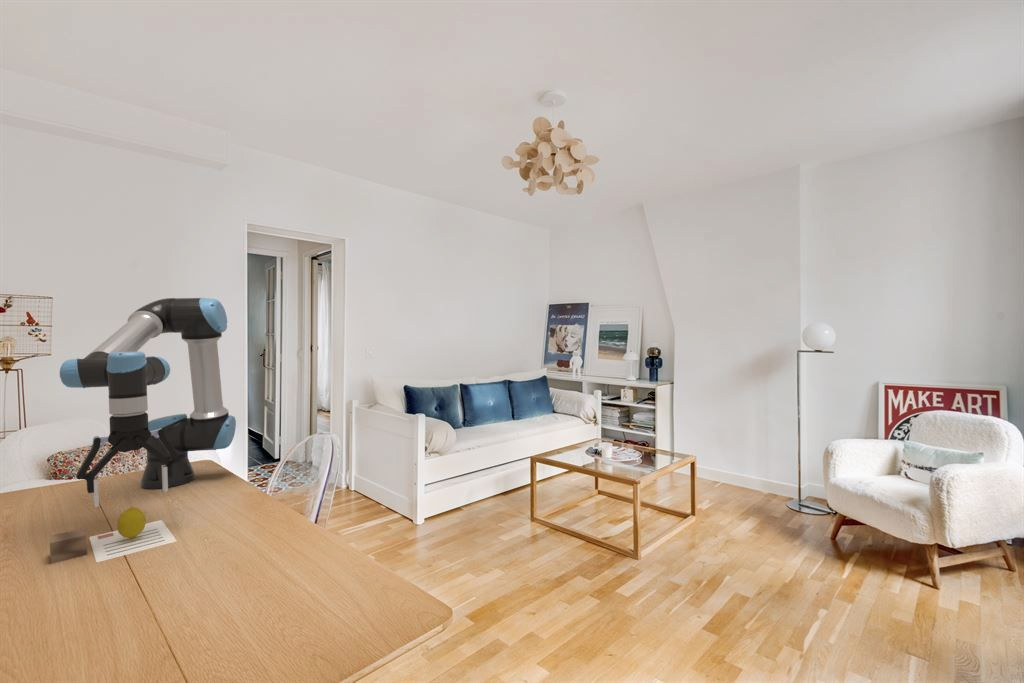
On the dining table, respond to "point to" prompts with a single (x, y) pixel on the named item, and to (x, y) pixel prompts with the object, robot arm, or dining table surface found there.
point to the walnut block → (68, 545)
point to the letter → (130, 541)
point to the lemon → (131, 523)
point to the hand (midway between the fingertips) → (132, 497)
